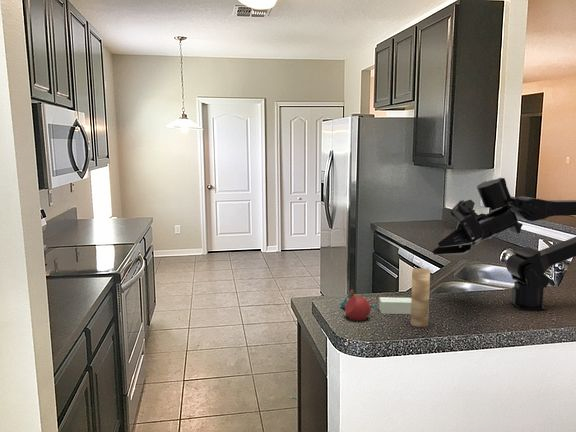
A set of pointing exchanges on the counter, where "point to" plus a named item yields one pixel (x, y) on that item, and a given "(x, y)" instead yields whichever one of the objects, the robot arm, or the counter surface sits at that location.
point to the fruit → (357, 308)
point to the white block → (394, 305)
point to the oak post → (420, 297)
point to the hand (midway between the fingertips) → (435, 249)
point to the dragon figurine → (350, 297)
